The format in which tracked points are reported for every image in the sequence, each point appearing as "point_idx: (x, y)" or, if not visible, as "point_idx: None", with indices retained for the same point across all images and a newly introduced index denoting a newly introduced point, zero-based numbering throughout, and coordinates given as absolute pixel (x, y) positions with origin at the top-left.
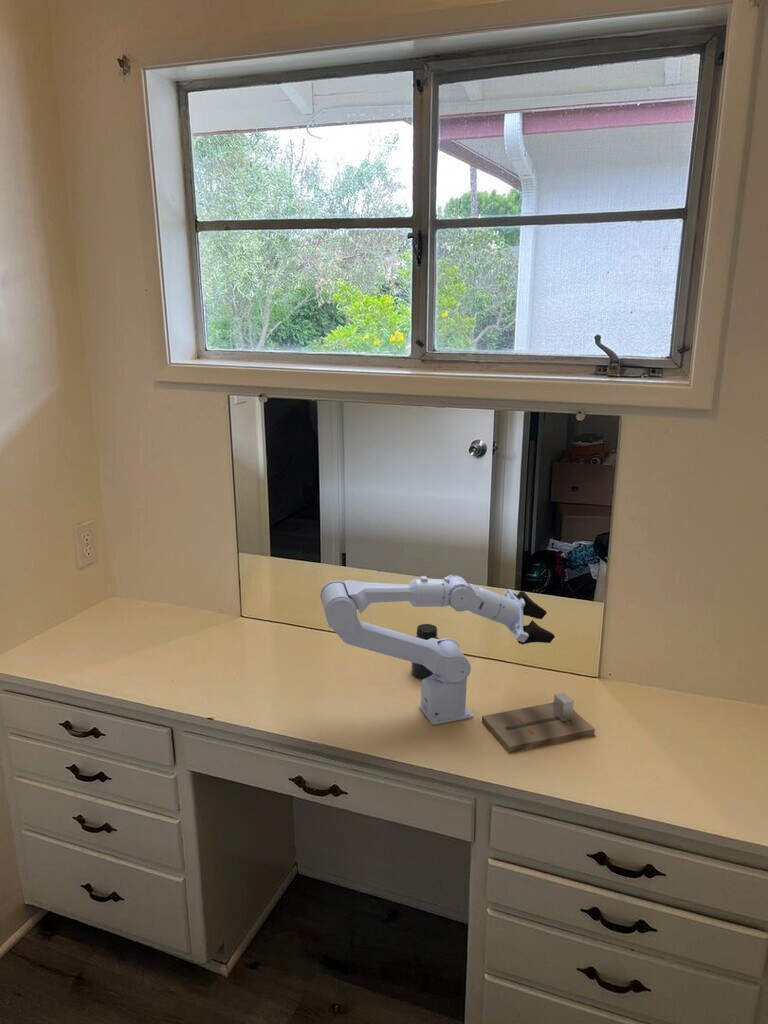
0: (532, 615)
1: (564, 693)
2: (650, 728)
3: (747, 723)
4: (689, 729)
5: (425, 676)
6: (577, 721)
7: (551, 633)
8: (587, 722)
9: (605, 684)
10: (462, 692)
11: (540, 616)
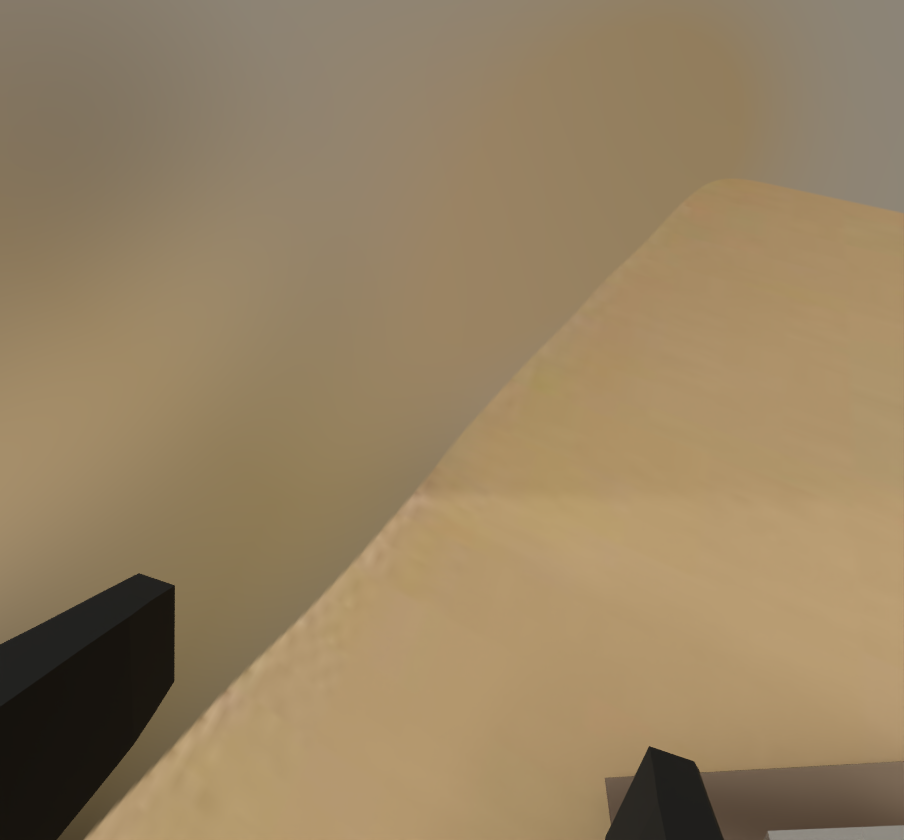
0: (51, 819)
1: (780, 834)
2: (860, 471)
3: (815, 215)
4: (863, 354)
5: None
6: (881, 825)
7: (675, 801)
8: (889, 762)
9: (464, 484)
10: None
11: (144, 690)
